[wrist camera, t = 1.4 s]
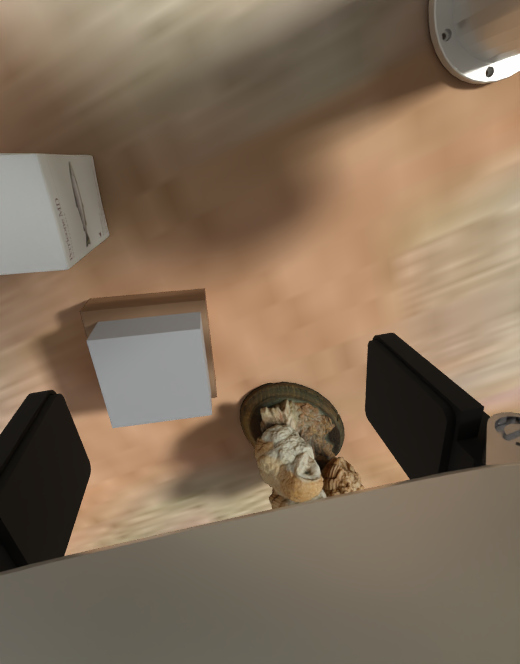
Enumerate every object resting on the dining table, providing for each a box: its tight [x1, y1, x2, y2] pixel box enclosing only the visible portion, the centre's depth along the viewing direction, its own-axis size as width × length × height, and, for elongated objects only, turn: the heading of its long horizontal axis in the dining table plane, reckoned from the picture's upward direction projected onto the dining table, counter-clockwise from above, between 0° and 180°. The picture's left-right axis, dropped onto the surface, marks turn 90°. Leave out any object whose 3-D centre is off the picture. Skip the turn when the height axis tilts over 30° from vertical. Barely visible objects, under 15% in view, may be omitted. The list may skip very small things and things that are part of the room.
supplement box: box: [0, 153, 110, 275], centre depth 28 cm, size 7×7×13 cm
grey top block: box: [87, 312, 212, 428], centre depth 36 cm, size 10×10×4 cm
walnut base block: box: [80, 288, 217, 398], centre depth 40 cm, size 12×12×4 cm
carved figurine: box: [240, 382, 364, 509], centre depth 42 cm, size 18×12×17 cm, turn 47°
